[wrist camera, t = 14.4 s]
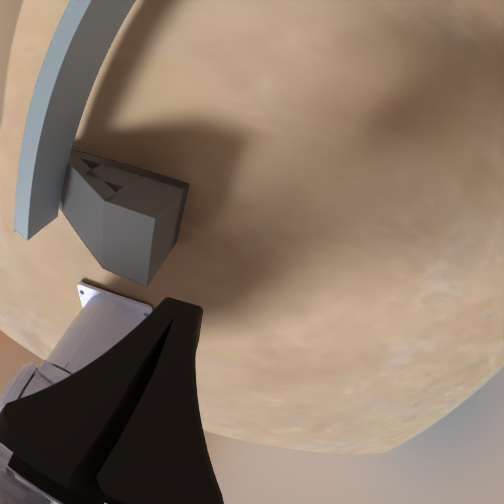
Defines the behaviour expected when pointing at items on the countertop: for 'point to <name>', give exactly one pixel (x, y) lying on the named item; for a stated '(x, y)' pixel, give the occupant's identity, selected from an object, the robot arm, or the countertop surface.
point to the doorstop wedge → (122, 214)
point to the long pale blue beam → (61, 106)
